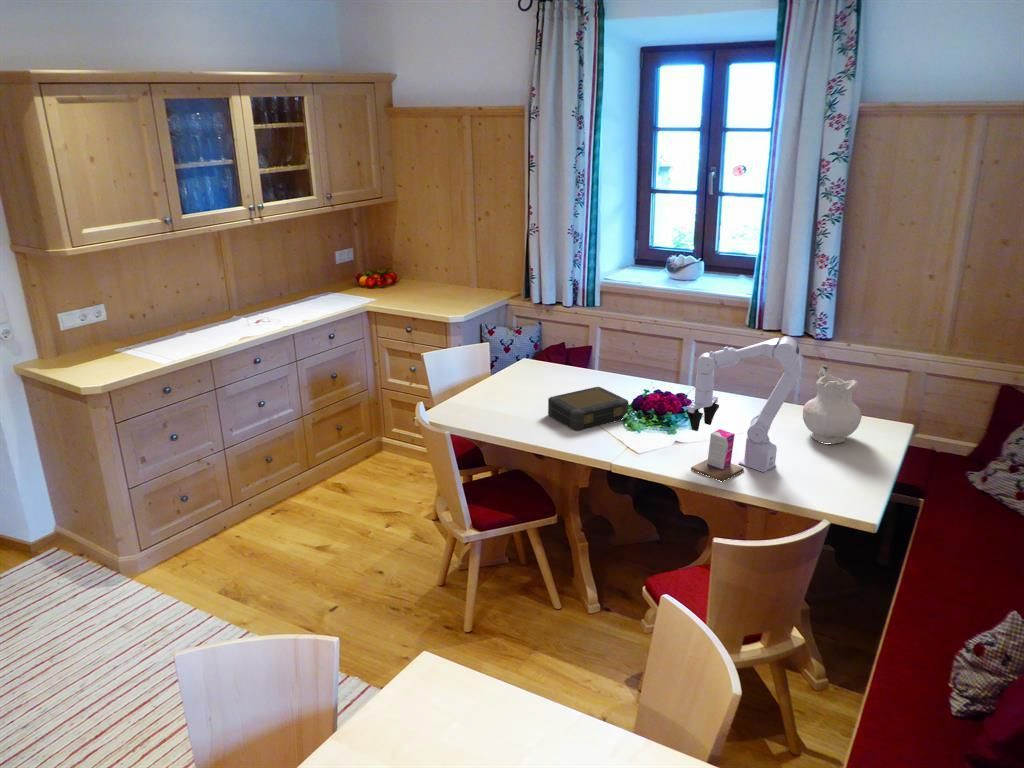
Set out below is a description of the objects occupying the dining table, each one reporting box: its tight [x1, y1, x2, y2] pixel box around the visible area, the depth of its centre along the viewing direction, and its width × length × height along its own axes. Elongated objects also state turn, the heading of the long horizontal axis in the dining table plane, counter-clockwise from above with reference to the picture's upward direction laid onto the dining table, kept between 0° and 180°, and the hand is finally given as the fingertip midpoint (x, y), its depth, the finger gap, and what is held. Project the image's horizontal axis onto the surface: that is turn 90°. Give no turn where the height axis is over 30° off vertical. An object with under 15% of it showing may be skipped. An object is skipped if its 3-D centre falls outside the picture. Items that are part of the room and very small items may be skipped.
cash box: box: [547, 386, 629, 432], centre depth 301 cm, size 25×20×8 cm
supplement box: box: [707, 428, 736, 470], centre depth 257 cm, size 6×6×12 cm
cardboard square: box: [690, 458, 745, 483], centre depth 258 cm, size 12×12×2 cm
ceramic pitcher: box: [802, 363, 863, 445], centre depth 279 cm, size 22×20×25 cm
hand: (701, 427), depth 265 cm, fingers open, 7 cm apart
